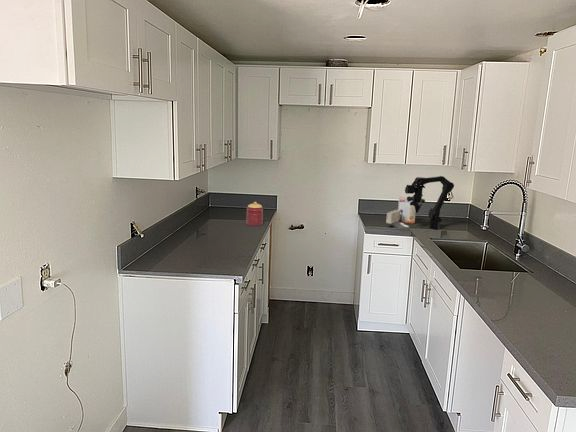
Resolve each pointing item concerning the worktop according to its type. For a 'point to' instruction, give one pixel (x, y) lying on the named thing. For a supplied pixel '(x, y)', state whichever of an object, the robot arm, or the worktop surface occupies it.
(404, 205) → the cracker box
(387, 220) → the beige block
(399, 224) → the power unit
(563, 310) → the worktop surface
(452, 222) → the worktop surface
